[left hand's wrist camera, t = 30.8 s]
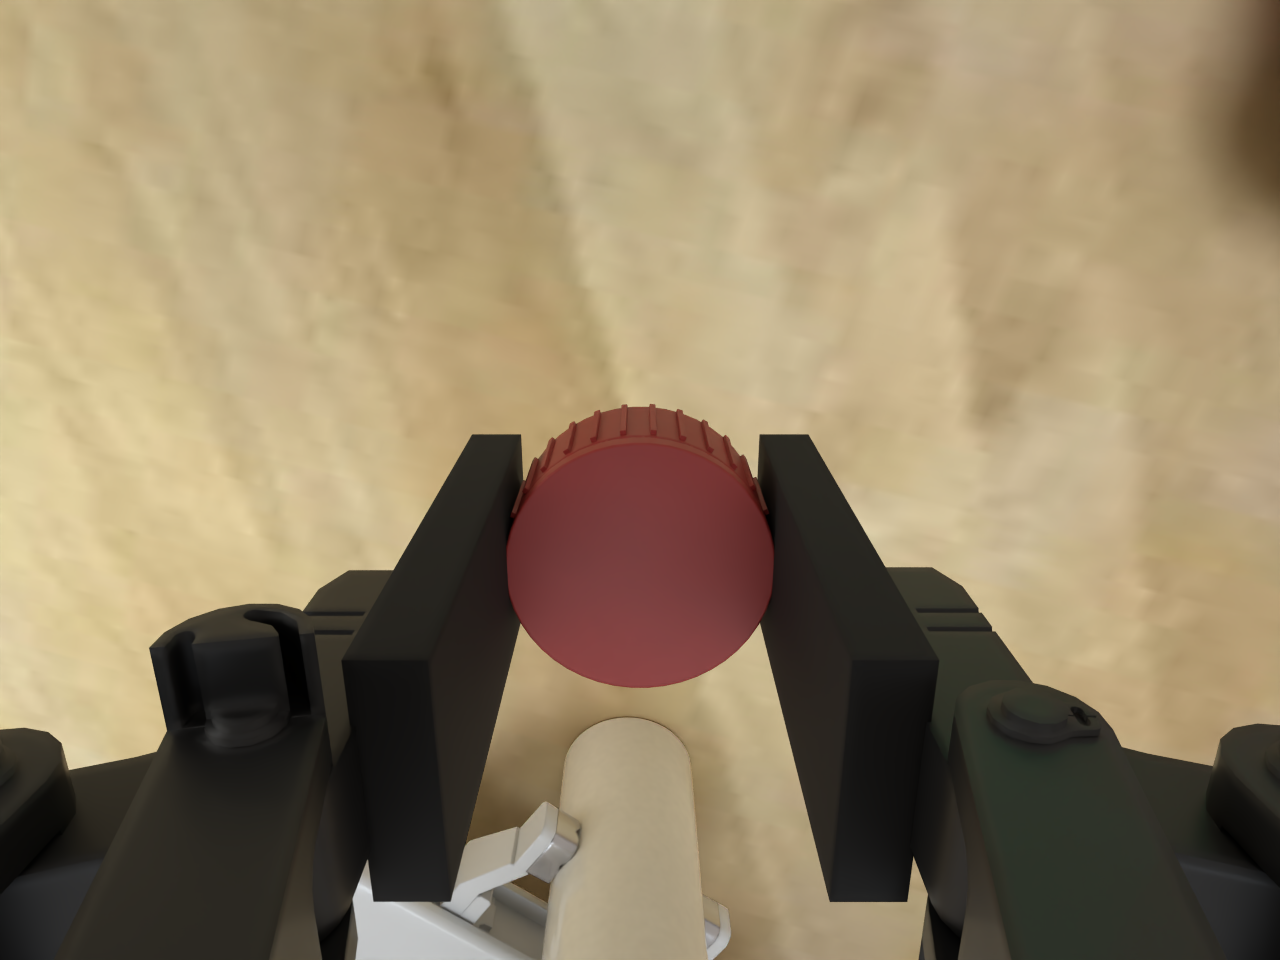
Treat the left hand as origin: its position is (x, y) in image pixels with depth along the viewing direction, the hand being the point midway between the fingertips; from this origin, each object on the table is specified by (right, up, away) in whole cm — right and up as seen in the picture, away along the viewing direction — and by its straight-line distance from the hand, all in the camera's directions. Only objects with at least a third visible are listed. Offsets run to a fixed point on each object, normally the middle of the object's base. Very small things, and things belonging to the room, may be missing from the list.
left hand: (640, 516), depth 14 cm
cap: (0, -1, -2) cm, 2 cm away
